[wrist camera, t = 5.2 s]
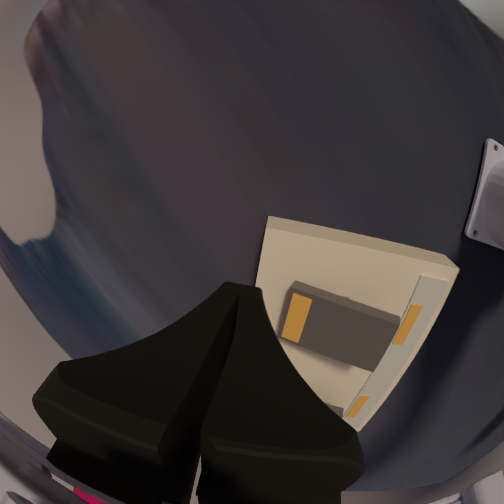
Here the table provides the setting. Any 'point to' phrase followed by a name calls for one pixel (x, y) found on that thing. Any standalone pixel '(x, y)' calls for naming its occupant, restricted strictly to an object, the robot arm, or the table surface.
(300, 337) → the block
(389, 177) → the table surface
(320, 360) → the switch console
